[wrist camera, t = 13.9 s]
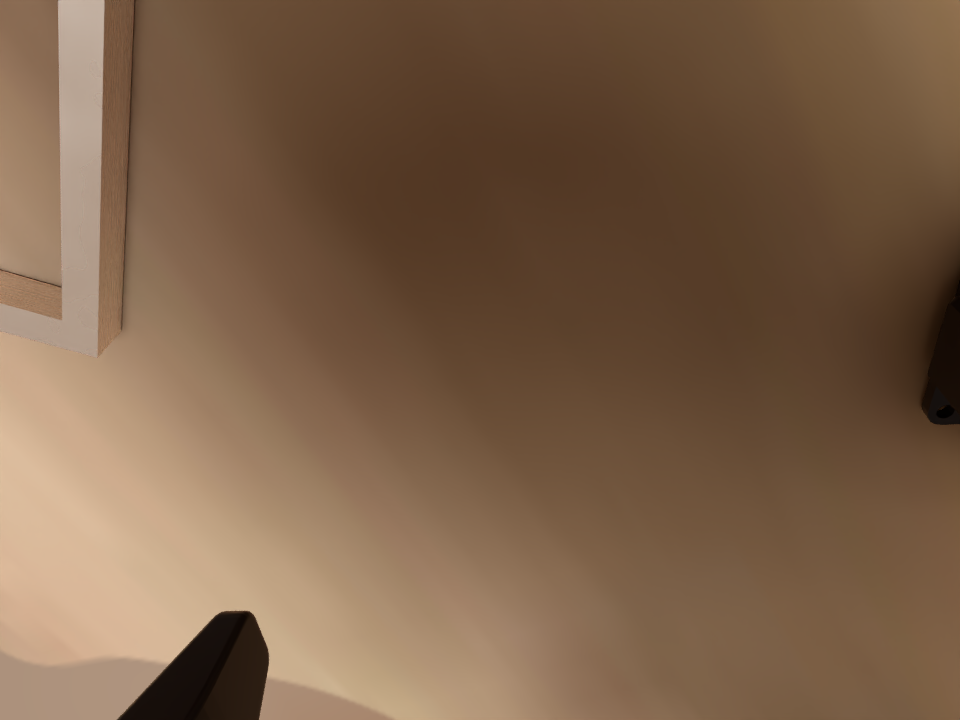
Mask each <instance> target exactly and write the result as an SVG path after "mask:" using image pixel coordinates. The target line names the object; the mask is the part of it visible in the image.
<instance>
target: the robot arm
mask: <svg viewBox="0 0 960 720" xmlns="http://www.w3.org/2000/svg"><path fill="white" fill-rule="evenodd" d="M928 376H929V378H930V380H929V383H928V387H927V390H926V393H925V396H924V400H923V403H922V410H923V412H924V413H925V415H926V416H927V418H928V419H929V420H930V421H931V422H932V423H934V424H940V425H947V424H960V281H959V284H958V288H957V291H956V294H955V297H954V298H953V299H952V301H951V302H950V303H949V304H948V307H947V310H946V314H945V317H944V320H943V324H942V327H941V330H940V334H939V337H938V340H937V344H936V347H935V350H934V354H933V357H932V360H931V364H930V367H929V370H928ZM945 405H947V406H946V407H945V408H943V409H941V410H938V409H939V408H940V407H942V406H945ZM268 666H269V653H268V648H267V645H266V643H265V640H264V638H263V636H262V633H261V631H260V628H259V626H258V623H257V621H256V618H255V616H254V615H253V614H252V613H251V612H249V611H224V612H221V613H219V614H217V615H216V616H215V617H214V618H213V619H212V620H211V621H210V622H209V623H208V624H207V625H206V626H205V627H204V628H203V629H202V630H201V631H200V632H199V633H198V634H197V636H196V637H195V638H194V639H193V640H192V641H191V642H190V643H189V644H188V645H187V646H186V647H185V648H184V649H183V650H182V651H181V652H180V654H179V655H178V656H177V657H176V658H175V659H174V660H173V661H172V662H171V663H170V664H169V665H168V666H167V667H166V668H165V669H164V670H163V672H162V673H161V674H160V675H159V676H158V677H157V678H156V679H155V680H154V681H153V682H152V683H151V684H150V685H149V686H148V688H146V690H145V691H144V692H143V693H142V694H141V695H140V696H139V697H138V698H137V699H136V700H135V701H134V702H133V703H132V704H131V705H130V706H129V708H128V709H127V710H126V711H125V712H124V713H123V714H122V715H121V716H120V717H119V718H118V719H117V720H259V716H260V710H261V705H262V700H263V694H264V688H265V683H266V678H267V672H268Z"/></svg>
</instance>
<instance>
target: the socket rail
mask: <svg viewBox="0 0 960 720" xmlns="http://www.w3.org/2000/svg"><path fill="white" fill-rule="evenodd" d="M133 23H134V0H58V31H59V108H60V185H61V262H62V288H61V287H58V286H54V285H51V284H47V283H44V282H40V281H37V280H33V279H30V278H26V277H22V276H19V275H15V274H12V273H8V272H5V271H1V270H0V331H1V332H5V333H8V334H12V335H16V336H19V337H23V338H27V339H30V340H34V341H38V342H41V343H45V344H49V345H52V346H56V347H60V348H63V349H67V350H70V351H74V352H78V353H81V354H85V355H89V356H92V357H96V358H98V357H99V355H100V354H101V353H102V352H103V351H104V350H105V349H106V348H107V346H108V345H109V344H110V343H111V342H112V341H113V340H114V338H115V337H116V336H117V335H118V334H119V333H120V332H121V317H122V292H123V268H124V243H125V219H126V194H127V170H128V145H129V121H130V96H131V72H132V47H133Z"/></svg>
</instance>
